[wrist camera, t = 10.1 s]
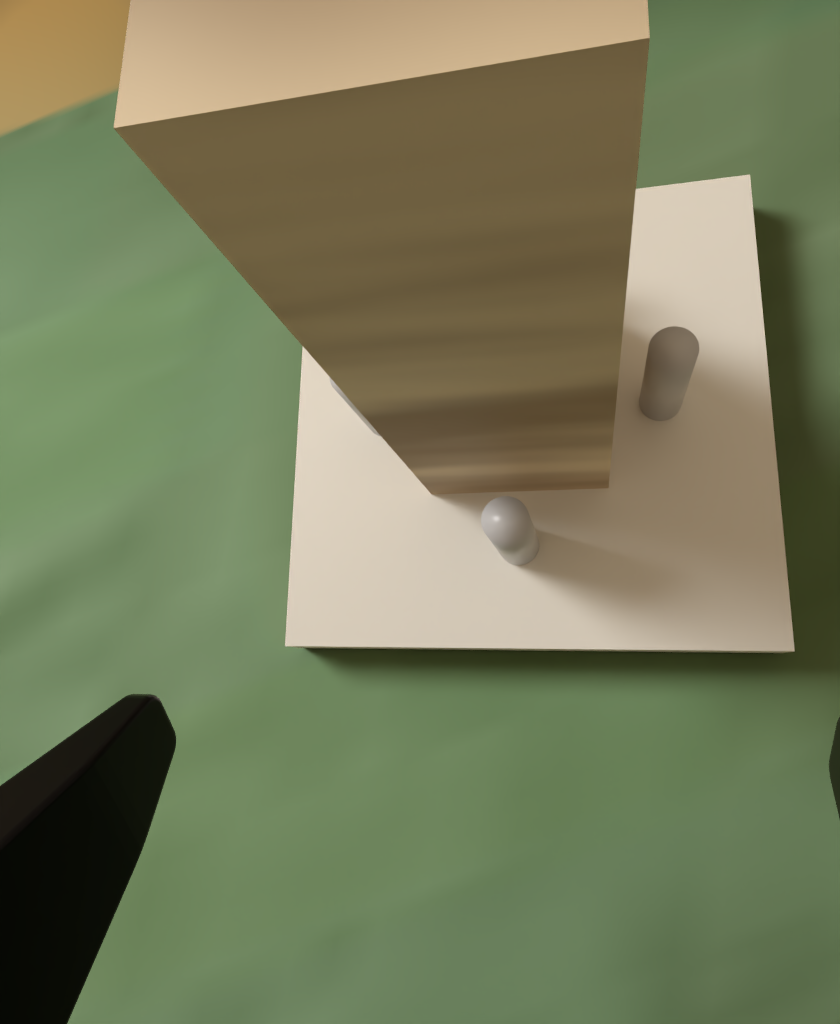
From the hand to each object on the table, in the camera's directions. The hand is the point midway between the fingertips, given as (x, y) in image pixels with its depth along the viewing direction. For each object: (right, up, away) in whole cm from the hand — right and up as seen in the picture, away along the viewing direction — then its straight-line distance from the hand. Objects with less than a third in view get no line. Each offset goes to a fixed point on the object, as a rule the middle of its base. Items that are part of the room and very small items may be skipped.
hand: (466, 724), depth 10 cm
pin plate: (+2, +5, +10) cm, 12 cm away
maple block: (+2, +5, +9) cm, 11 cm away
